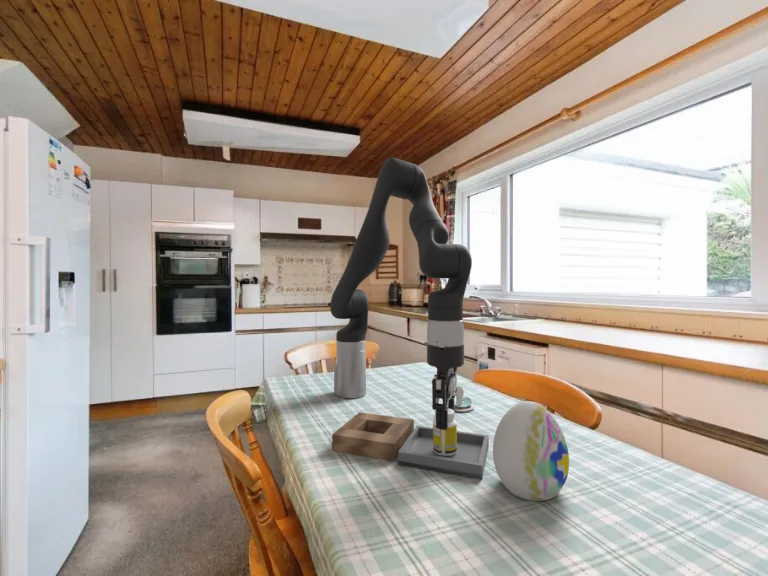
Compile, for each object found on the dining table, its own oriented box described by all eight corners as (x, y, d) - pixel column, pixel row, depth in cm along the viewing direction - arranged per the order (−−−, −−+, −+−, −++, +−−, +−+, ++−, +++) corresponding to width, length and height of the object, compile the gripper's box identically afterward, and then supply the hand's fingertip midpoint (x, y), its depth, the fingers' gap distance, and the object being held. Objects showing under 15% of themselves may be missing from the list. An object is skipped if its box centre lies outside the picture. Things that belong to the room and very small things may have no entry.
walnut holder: (332, 450, 79) (332, 434, 79) (359, 426, 92) (359, 412, 92) (394, 461, 74) (394, 444, 74) (413, 434, 88) (413, 419, 88)
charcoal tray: (398, 464, 73) (398, 452, 73) (416, 436, 86) (416, 425, 86) (482, 479, 68) (482, 465, 68) (488, 446, 81) (488, 435, 81)
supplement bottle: (458, 448, 78) (458, 408, 78) (455, 458, 74) (454, 416, 74) (435, 445, 80) (435, 406, 80) (431, 454, 75) (430, 413, 75)
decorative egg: (553, 519, 56) (554, 421, 56) (480, 489, 65) (480, 402, 64) (578, 486, 65) (579, 401, 65) (511, 463, 74) (511, 387, 73)
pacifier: (478, 410, 104) (463, 403, 109) (479, 388, 104) (464, 382, 109) (459, 415, 100) (444, 408, 105) (460, 392, 100) (445, 386, 105)
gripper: (434, 335, 84) (435, 408, 85) (418, 346, 71) (418, 432, 71) (468, 337, 82) (468, 412, 82) (458, 348, 68) (458, 438, 69)
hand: (445, 421), depth 77 cm, fingers open, 7 cm apart
